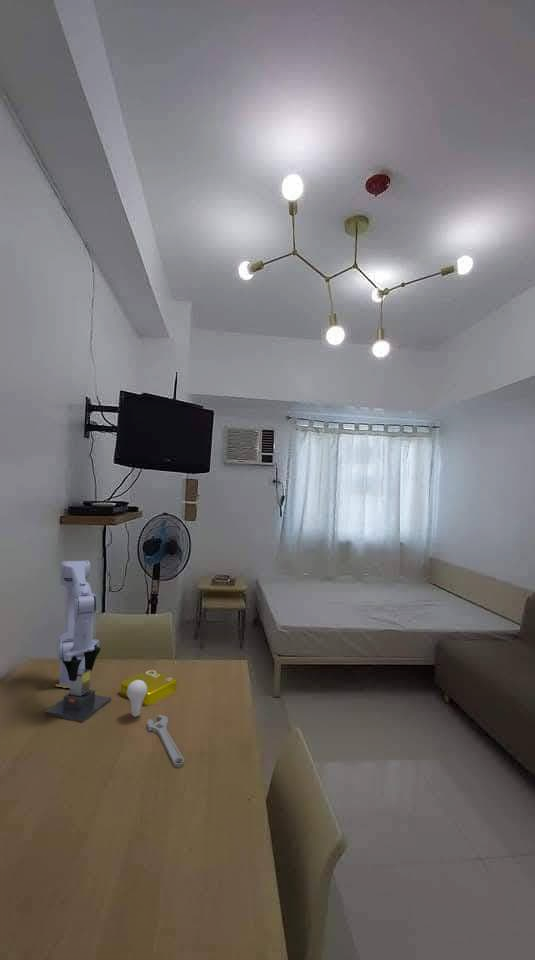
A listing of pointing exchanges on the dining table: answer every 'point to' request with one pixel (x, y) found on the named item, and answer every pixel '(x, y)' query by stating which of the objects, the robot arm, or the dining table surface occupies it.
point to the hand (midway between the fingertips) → (80, 675)
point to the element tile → (152, 685)
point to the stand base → (78, 706)
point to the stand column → (80, 683)
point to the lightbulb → (136, 695)
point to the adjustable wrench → (166, 739)
